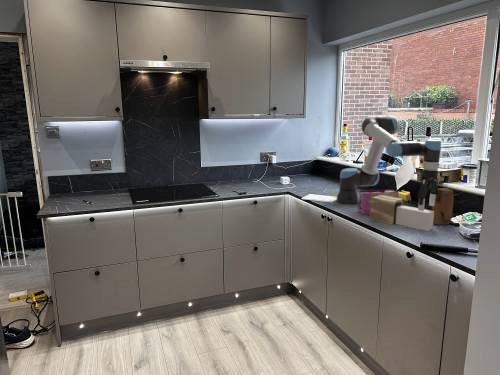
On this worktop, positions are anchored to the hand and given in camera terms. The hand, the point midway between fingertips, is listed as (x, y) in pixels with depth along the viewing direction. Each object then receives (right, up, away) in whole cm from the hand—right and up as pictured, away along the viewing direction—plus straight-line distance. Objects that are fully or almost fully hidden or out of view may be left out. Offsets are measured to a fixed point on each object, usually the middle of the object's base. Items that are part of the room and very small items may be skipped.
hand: (426, 208), depth 202 cm
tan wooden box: (-15, -8, +19) cm, 25 cm away
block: (+13, -9, +11) cm, 20 cm away
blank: (-4, -11, +6) cm, 13 cm away
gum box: (-14, -5, +36) cm, 39 cm away
